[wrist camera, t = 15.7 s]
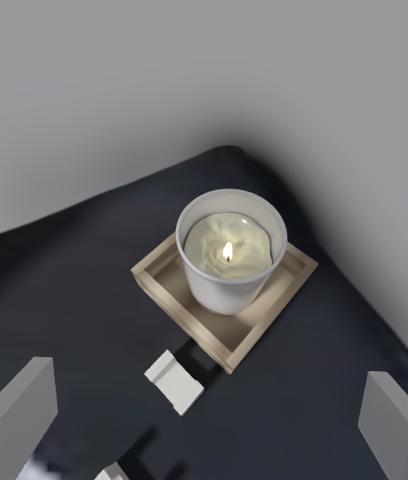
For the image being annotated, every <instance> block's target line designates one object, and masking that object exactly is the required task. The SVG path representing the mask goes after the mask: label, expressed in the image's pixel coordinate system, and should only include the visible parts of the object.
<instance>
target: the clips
mask: <svg viewBox="0 0 408 480" xmlns="http://www.w3.org/2000/svg"><path fill="white" fill-rule="evenodd" d="M145 375H146V376H147V377H148V379H149V380H150V381H151V382H152V383H154V384H156V386H157V387H158V388H159V389H160V390H161V391H162V392H163V394H164V395H165V396H166V397H167V398H168V399H169V400H170V401H171V403H172V404H173V405H174V408H175V409H176V410H177V412H178V413H179V414H180V415H181V416H183V415H185V413H186V412H187V411H188V410H189V408H190V407H191V406H192V405H193V404H194V402H195V401H196V400H197V399H198V398H199V396H200V395H201V394H202V393H203V392H204V388H203V386H202V385H201V384H200V383H199V382H198V381H197V380H196V381H195V380H194V379H193V378H192V377H191V376H190V375H189V374H188V373H187V372H186V370H185V369H184V368H183V367H182V366H181V365H180V364H179V363H178V362H177V361H176V359H175V357H174V356H173V355H172V354H171V353H170V352H169V351H168V350H166V351H165V353H164V354H163V355H162V356H161V357H160V358H159V359H158V360H157V361H156V362H155V363H154V364H153V365H152V366H151V367H150V368H149V369H148V370H147V372H146V373H145ZM95 480H129V479H128V477H127V476H126V475H125V473H124V472H123V470H122V469H121V468H120V466H119V465H118V464H117V462H115V463H114V464H112V465H110V466H108V467H107V468H105V469H103V471H102V472H101V473H100V474H99V475H98V476H97V477H96V479H95Z"/></svg>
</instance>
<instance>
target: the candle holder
mask: <svg viewBox="0 0 408 480" xmlns="http://www.w3.org/2000/svg"><path fill="white" fill-rule="evenodd" d="M176 243H177V247H178V250H179V252H180V254H181V258H182V262H183V265H184V269H185V273H186V276H187V280H188V284H189V287H190V290H191V293H192V295H193V297H194V299H195V301H196V302H197V303H198V304H199V305H200V306H201V307H202V308H203V309H205V310H206V311H208V312H210V313H212V314H215V315H221V316H229V315H234V314H237V313H239V312H241V311H243V310H245V309H246V308H247V307H248V306H249V305H250V304H251V303H252V302H253V300H254V299H255V298H256V296H257V295H258V293H259V292H260V290H261V289H262V287H263V286H264V284H265V282H266V281H267V279H268V278H269V276H270V275H271V273H272V272H273V270H274V269H275V268H276V267H277V266H278V264H279V263H280V261H281V260H282V258H283V256H284V253H285V250H286V246H287V231H286V227H285V224H284V221H283V219H282V217H281V216H280V214H279V213H278V211H277V210H276V209H275V208H274V207H273V206H272V205H271V204H270V203H269V202H267V201H266V200H264V199H263V198H261V197H259V196H258V195H255V194H253V193H250V192H247V191H243V190H238V189H220V190H215V191H211V192H208V193H205V194H203V195H201V196H199V197H197V198H196V199H194V200H193V201H192V202H191V203H190V204H189V205H188V206H187V207H186V208H185V209H184V210H183V212H182V213H181V215H180V217H179V220H178V223H177V227H176Z"/></svg>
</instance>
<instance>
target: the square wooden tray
mask: <svg viewBox="0 0 408 480" xmlns="http://www.w3.org/2000/svg"><path fill="white" fill-rule="evenodd" d="M317 266H318V263H317V262H316V261H314V260H313V259H311V258H310V257H308V256H307V255H306V254H304V253H303V252H301V251H300V250H299V249H297V248H296V247H294V246H293V245H291V244H290V243H289V242H287V246H286V250H285V253H284V256H283V258H282V260H281V261H280V263H279V264H278V266H277V267H276V268H275V269H274V270H273V272H272V273H271V275H270V276H269V278H268V279H267V281H266V282H265V284H264V286H263V287H262V289H261V290H260V292H259V293H258V295H257V296H256V298H255V299H254V300H253V302H252V303H251V304H250V305H249V306H248V307H247V308H246V309H245V310H243V311H241V312H239V313H237V314H234V315H229V316H221V315H215V314H212V313H210V312H208V311H206V310H205V309H203V308H202V307H201V306H200V305H199V304H198V303H197V302H196V301H195V299H194V297H193V295H192V293H191V290H190V287H189V284H188V280H187V276H186V273H185V269H184V265H183V262H182V258H181V254H180V252H179V250H178V247H177V243H176V231H175V232H174V233H173V234H172V235H171V236H170V237H168V238H167V239H166V240H165V241H164V242H163V243H161V244H160V245H159V246H158V247H157V248H156V249H154V250H153V251H152V252H151V253H150V254H149V255H147V256H146V257H145V258H144V259H143V260H142V261H140V262H139V263H138V264H137V265H136V266H135V267H133V268H132V269H131V271H132V273H133V275H134V277H135V279H136V281H137V283H138V285H139V286H140V287H141V288H142V289H143V290H144V291H145V292H146V293H147V294H148V295H149V296H150V297H151V298H152V299H153V300H154V301H155V302H156V303H157V304H158V305H159V306H160V307H161V308H162V309H163V310H164V311H165V312H166V313H167V314H168V315H169V316H170V317H171V318H172V319H173V320H174V321H175V322H176V323H177V324H178V325H179V326H180V327H181V328H182V329H183V330H184V331H185V332H186V333H187V334H188V335H189V336H191V337H192V338H193V339H194V340H195V341H196V342H197V343H198V344H199V345H200V346H201V347H202V348H203V349H204V350H205V351H206V352H207V353H208V354H209V355H210V356H211V357H212V358H213V359H214V360H215V361H216V362H217V363H218V364H219V365H220V366H221V367H222V368H223V369H224V370H225V371H226V372H227V373H228V374H229V375H230V374H231V373H232V372H233V370H234V369H235V368H236V367H237V365H238V364H239V363H240V362H241V361H242V359H243V358H244V357H245V356H246V354H247V353H248V352H249V351H250V349H251V348H252V347H253V346H254V344H255V343H256V342H257V341H258V339H259V338H260V337H261V336H262V334H263V333H264V332H265V331H266V330H267V328H268V327H269V326H270V325H271V323H272V322H273V321H274V320H275V318H276V317H277V316H278V315H279V313H280V312H281V311H282V310H283V308H284V307H285V306H286V305H287V303H288V302H289V301H290V300H291V298H292V297H293V296H294V295H295V294H296V292H297V291H298V290H299V289H300V287H301V286H302V285H303V284H304V282H305V281H306V280H307V279H308V277H309V276H310V275H311V273H312V272H313V271H314V270H315V268H316V267H317Z"/></svg>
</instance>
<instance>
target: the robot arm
mask: <svg viewBox="0 0 408 480" xmlns="http://www.w3.org/2000/svg"><path fill="white" fill-rule="evenodd" d="M57 413H58V409H57V399H56V389H55V379H54V369H53V359H52V358H49V357H34V358H33V359H32V360H31V361H30V362H29V363H28V364H27V365H26V366H25V367H24V368H23V369H22V370H21V371H20V372H19V373H18V374H17V375H16V376H15V377H14V379H13V380H12V381H11V382H10V383H9V384H8V385H7V386H6V387H5V388H4V389H3V390H2V391H1V392H0V480H15V479H16V478H17V476H18V475H19V473H20V472H21V470H22V468H23V467H24V465H25V464H26V462H27V460H28V459H29V457H30V456H31V454H32V453H33V451H34V449H35V448H36V446H37V445H38V443H39V442H40V440H41V438H42V437H43V435H44V434H45V432H46V431H47V429H48V427H49V426H50V424H51V423H52V421H53V420H54V418H55V416H56V415H57ZM358 428H359V429H360V431H361V433H362V434H363V436H364V438H365V440H366V441H367V443H368V445H369V446H370V448H371V450H372V452H373V453H374V455H375V457H376V458H377V460H378V462H379V464H380V465H381V467H382V469H383V471H384V472H385V474H386V476H387V477H388V479H389V480H408V395H407V394H406V393H405V392H404V391H403V390H402V388H401V387H400V386H399V385H398V384H397V383H396V382H395V381H394V379H393V378H392V377H391V376H390V375H389V374H388V373H387V372H374V371H368V375H367V381H366V386H365V391H364V396H363V402H362V407H361V412H360V417H359V423H358Z"/></svg>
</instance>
